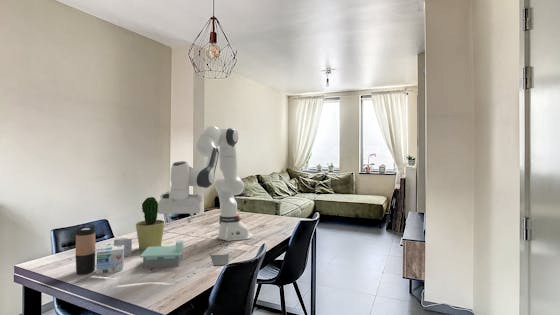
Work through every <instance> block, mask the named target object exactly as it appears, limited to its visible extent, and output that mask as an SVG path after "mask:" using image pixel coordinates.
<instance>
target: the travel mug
mask: <svg viewBox="0 0 560 315" xmlns="http://www.w3.org/2000/svg"><path fill="white" fill-rule="evenodd" d="M95 268H96V227H95V226H90V227H87V226H80V227H78V228H76V229H75V271H76V272H75V273H76V275H78V276H80V275H81V276H83V275H88V274H92V273H94V272H95Z"/></svg>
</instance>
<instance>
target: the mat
mask: <svg viewBox="0 0 560 315" xmlns="http://www.w3.org/2000/svg"><path fill="white" fill-rule="evenodd" d="M229 256H230V255H229V254H228V253H227V254H226V253H225V254H210V259H211V262H212V265H213V266H214V267H219V266H220V267H222V266H227V265H226V264H228V263H229V261H230V260H229V259H230V257H229ZM228 265H229V264H228Z"/></svg>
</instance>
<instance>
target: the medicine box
mask: <svg viewBox="0 0 560 315" xmlns="http://www.w3.org/2000/svg"><path fill="white" fill-rule="evenodd" d="M121 245H124V258H128V257H130V256H131V255H132V254H133V253H132V251H133V247H132V246H133V244H132V238H125V237H119V238H116V239H114V240H113V246H121Z"/></svg>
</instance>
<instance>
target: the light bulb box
mask: <svg viewBox="0 0 560 315" xmlns="http://www.w3.org/2000/svg"><path fill="white" fill-rule="evenodd" d="M124 263H125V257H124V245H121V246H114V245H112V246H103V247H98V249H97V251H96V263H95V268H96V271H95V272H96V273H95V275H99V274H105V273H106V274H107V273H114V272H122V271H124V270H123V269H124V266H125V264H124Z"/></svg>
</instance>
